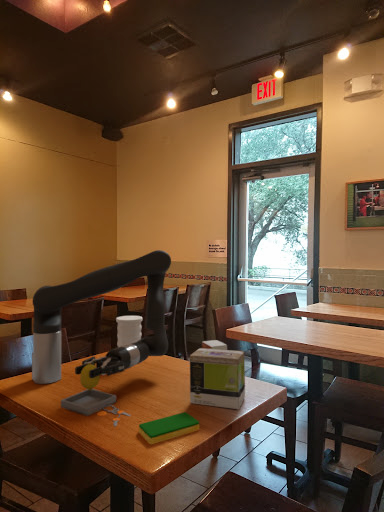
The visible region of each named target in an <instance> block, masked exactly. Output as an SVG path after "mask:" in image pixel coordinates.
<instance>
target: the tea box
mask: <svg viewBox="0 0 384 512" xmlns="http://www.w3.org/2000/svg"><path fill="white" fill-rule="evenodd" d="M245 362H246V361H245V351H244V350H231V349H230V350H229V349H227V350H220V349H206V348H202V347H199V348H198V349H197V350H195V351H194V352H192V353H191V354H190V355H189V395H190V396H189V399H190V400H189V401H190V402H189V403H190V404H194V405H203V406H211V407H219V408H225V409H234V410H240V408H241V406H242V405H243V401H244V400H245V397H246V395H245V394H246V388H245V387H246V382H245V381H246V376H245V375H246V373H245V372H246V371H245V370H246V369H245Z"/></svg>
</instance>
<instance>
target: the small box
mask: <svg viewBox="0 0 384 512" xmlns="http://www.w3.org/2000/svg"><path fill="white" fill-rule="evenodd" d="M201 348H206V349H220V350H228V345H227V344H226V343H224V342H222V341H220V340H217V339H215V340H212V339H211V340H204V341H203V340H202V342H201Z"/></svg>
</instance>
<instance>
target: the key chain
mask: <svg viewBox="0 0 384 512" xmlns="http://www.w3.org/2000/svg"><path fill="white" fill-rule="evenodd" d="M108 407H112V408H113V409H112V410H108V409H106V408H108ZM106 408H102V409H101V410H104V411H98V412H96V415H97V416H99V417H103V416H106V415H107V413H112V414H113V415H118V416H117V417H115V418H113V419H112V422H113V424H112V425H113V427H117V426H118V422H121V418H120V417H121V415H124V416H127V417H131V416H132V414H130V413H127V412H126V411H125V410H120V409H119V408H118V407H115V406H114V405H113V404H111V405H109V406H107V407H106Z"/></svg>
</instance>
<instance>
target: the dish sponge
mask: <svg viewBox="0 0 384 512" xmlns="http://www.w3.org/2000/svg"><path fill="white" fill-rule="evenodd" d="M199 430H200V421H199V420H197V419H196V418H195V417H193V416H192V415H191V414H189V413H188V412H187V411H186V412H185V411H183V412H180V413H177V414H172V415H169V416H165V417H161V418H158V419H155V420H150V421H147V422H143V423H139V425H138V433H139V434H140V435H141V437H142V438H144V440H145V441H146V442H147V443H148V444H150V445H154V444H156V443H161V442H164V441H167V440H170V439H174V438H177V437H181V436H183V435H187V434H190V433H193V432H197V431H199Z"/></svg>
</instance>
